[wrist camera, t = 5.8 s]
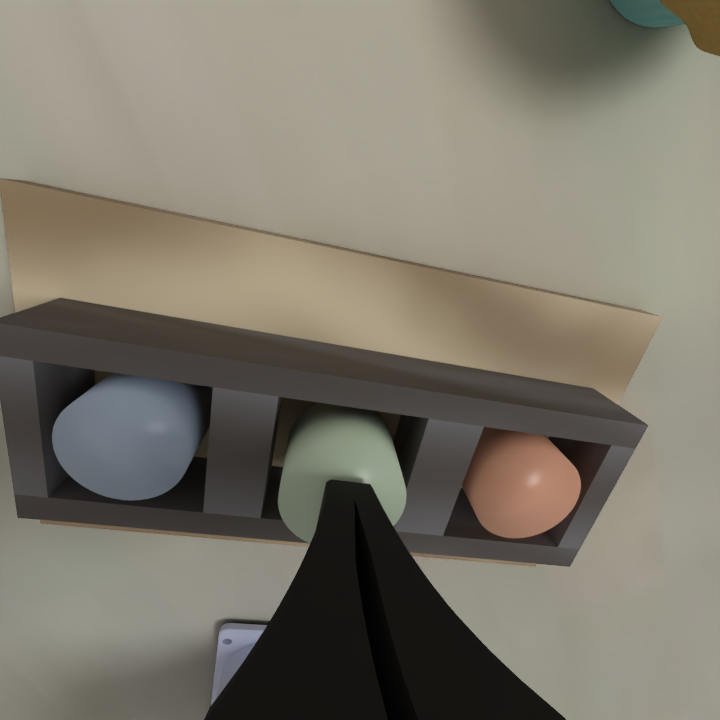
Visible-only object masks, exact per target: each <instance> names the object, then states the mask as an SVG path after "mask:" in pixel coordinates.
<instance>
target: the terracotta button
mask: <svg viewBox="0 0 720 720" xmlns="http://www.w3.org/2000/svg"><path fill="white" fill-rule="evenodd" d="M462 487H463V489H464V491H465V493H466V495H467V498H468V500H469V502H470V504H471V506H472V508H473V510H474V512H475V514H476V516H477V518H478V520H479V522H480V523H481V524H482V526H483V527H484V528H485V529H487V530H488V531H489V532H491V533H493V534H495V535H498V536H501V537H506V538H525V537H530V536H534V535H537V534H540V533H543V532H545V531H547V530H549V529H551V528H552V527H554V526H555V525H557V524H558V523H560V522H561V521H562V520H563V519H564V518H565V517H566V516H567V515H568V514H569V513H570V512H571V510H572V509H573V508H574V506H575V504H576V502H577V500H578V498H579V494H580V490H581V480H580V476H579V473H578V471H577V469H576V468H575V466H574V465H573V464H572V463H571V462H570V461H569V460H568V459H567V458H566V457H565V456H564V455H563V454H562V453H561V452H560V451H559V449H558V448H557V447H556V446H555V445H554V444H553V443H552V442H551V441H550V440H549V439H548V438H547V437H546V436H545V435H538V434H531V433H524V432H517V431H511V430H504V429H497V428H490V427H484V428H483V431H482V433H481V436H480V439H479V441H478V444H477V447H476V449H475V452H474V455H473V457H472V460H471V463H470V465H469V468H468V471H467V473H466V476H465V478H464V481H463V484H462Z"/></svg>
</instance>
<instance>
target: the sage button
mask: <svg viewBox="0 0 720 720" xmlns="http://www.w3.org/2000/svg"><path fill="white" fill-rule="evenodd" d="M330 479H332V480H341V481H349V482H358V483H367V484H370V485H371V486H372V487H373V489H374V491H375V493H376V495H377V497H378V499H379V501H380V503H381V505H382V507H383V509H384V511H385V512H386V514H387V516H388V518H389V520H390V521H391V523H392V525H393V526H394V525H395V524H396V523H397V522H398V520H399V519H400V517H401V515H402V513H403V511H404V508H405V504H406V496H407V494H406V487H405V483H404V479H403V476H402V472H401V468H400V465H399V461H398V458H397V454H396V451H395V447H394V444H393V440H392V437H391V433H390V429H389V427H388V425H387V423H386V421H385V420H384V418H383V417H382V416H381V415H380V414H379V413H378V412H377V411H373V410H366V409H360V408H353V407H346V406H339V405H332V404H325V403H319V404H316V405H314V406H312V407H310V408H309V409H307V410H306V411H305V412H303V413H302V414H301V415H300V416H299V417H298V418H297V420H296V421H295V422H294V424H293V426H292V428H291V430H290V432H289V436H288V441H287V447H286V453H285V459H284V465H283V471H282V476H281V482H280V488H279V494H278V508H279V512H280V515H281V517H282V519H283V521H284V523H285V524H286V526H287V527H288V528H289V529H290V530H291V532H293V533H294V534H295V535H296V536H298V537H299V538H301V539H302V540H304V541H306V542H308V543H311V541H312V538H313V536H314V533H315V531H316V526H317V521H318V517H319V512H320V508H321V503H322V499H323V494H324V489H325V485H326V482H327V481H329V480H330Z"/></svg>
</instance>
